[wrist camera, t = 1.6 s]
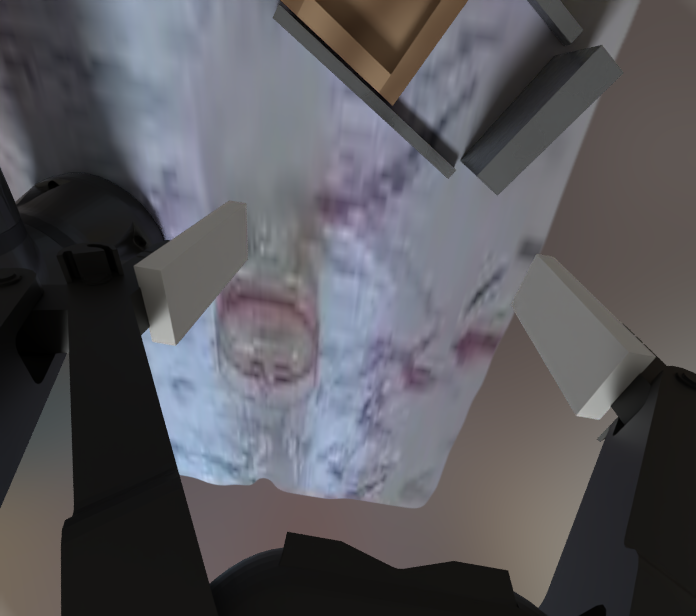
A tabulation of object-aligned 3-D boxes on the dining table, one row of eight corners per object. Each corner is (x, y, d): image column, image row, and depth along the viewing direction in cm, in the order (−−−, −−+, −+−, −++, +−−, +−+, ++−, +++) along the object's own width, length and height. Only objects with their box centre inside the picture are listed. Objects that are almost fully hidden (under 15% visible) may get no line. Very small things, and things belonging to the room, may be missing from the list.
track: (276, 20, 27) (246, 0, 21) (384, -211, 20) (382, -332, 15) (463, 191, 33) (479, 212, 27) (594, 55, 26) (652, 44, 20)
